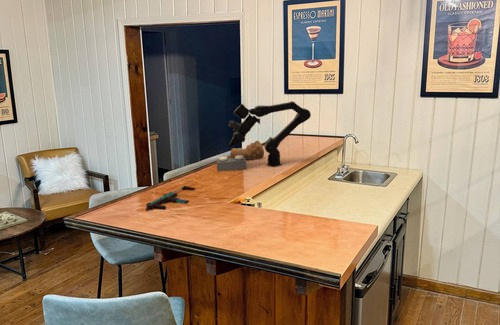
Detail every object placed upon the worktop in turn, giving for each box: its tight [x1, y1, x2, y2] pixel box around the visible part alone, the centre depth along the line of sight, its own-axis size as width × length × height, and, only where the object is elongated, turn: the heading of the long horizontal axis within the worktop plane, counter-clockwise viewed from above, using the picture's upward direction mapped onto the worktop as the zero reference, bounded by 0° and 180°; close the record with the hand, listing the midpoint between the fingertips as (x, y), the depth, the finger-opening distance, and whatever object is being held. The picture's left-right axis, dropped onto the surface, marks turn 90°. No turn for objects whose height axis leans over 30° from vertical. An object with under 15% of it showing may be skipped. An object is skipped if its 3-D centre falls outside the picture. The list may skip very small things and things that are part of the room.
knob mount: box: [216, 157, 247, 172], centre depth 232 cm, size 16×8×5 cm, turn 93°
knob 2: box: [235, 155, 243, 160], centre depth 232 cm, size 5×5×6 cm
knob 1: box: [218, 156, 228, 161], centre depth 231 cm, size 5×5×6 cm
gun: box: [145, 185, 196, 211], centre depth 184 cm, size 32×2×15 cm
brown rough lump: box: [229, 140, 265, 160], centre depth 253 cm, size 19×11×15 cm
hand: (229, 146), depth 229 cm, fingers closed
